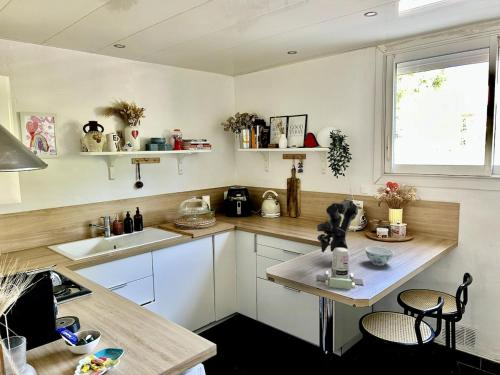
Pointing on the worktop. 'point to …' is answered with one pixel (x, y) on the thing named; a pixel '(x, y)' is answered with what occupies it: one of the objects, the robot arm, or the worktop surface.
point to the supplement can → (340, 263)
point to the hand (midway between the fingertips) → (327, 250)
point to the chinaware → (379, 255)
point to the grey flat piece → (340, 281)
